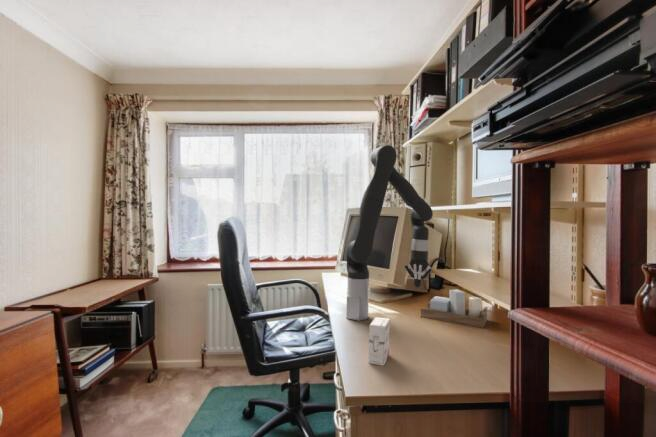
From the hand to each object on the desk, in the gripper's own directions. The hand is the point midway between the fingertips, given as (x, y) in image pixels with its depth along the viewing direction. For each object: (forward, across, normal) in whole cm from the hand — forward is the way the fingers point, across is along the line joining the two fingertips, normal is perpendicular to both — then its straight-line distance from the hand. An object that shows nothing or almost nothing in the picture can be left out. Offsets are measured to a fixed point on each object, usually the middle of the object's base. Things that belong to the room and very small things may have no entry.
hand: (417, 287), depth 150 cm
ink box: (+13, +4, -54) cm, 56 cm away
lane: (+11, +16, 0) cm, 20 cm away
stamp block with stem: (+11, +8, 0) cm, 14 cm away
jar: (+11, +25, 0) cm, 27 cm away
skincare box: (+11, +17, 0) cm, 21 cm away
